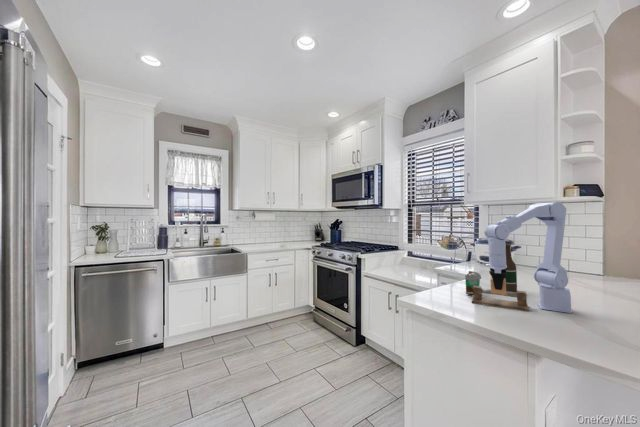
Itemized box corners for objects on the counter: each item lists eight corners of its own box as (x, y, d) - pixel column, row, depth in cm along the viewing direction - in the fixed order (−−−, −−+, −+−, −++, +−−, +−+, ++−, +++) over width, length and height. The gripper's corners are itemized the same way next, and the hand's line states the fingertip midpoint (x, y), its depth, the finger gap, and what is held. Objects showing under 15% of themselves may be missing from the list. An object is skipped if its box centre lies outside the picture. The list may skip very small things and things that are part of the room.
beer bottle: (502, 292, 130) (500, 244, 130) (496, 288, 137) (495, 243, 138) (520, 293, 128) (519, 245, 128) (513, 289, 135) (512, 243, 135)
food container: (480, 297, 122) (479, 276, 122) (465, 295, 126) (465, 275, 126) (483, 291, 132) (482, 272, 132) (469, 289, 136) (468, 270, 136)
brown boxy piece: (527, 305, 111) (526, 290, 111) (529, 311, 104) (528, 295, 104) (473, 297, 122) (472, 284, 122) (471, 302, 116) (471, 288, 116)
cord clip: (505, 291, 105) (505, 278, 105) (506, 295, 101) (505, 281, 101) (491, 290, 108) (490, 277, 108) (491, 293, 104) (490, 279, 104)
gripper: (486, 251, 113) (487, 282, 112) (484, 256, 101) (486, 290, 101) (505, 252, 109) (507, 284, 108) (507, 257, 97) (508, 293, 97)
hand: (498, 287), depth 104 cm, fingers closed on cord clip, 5 cm apart
